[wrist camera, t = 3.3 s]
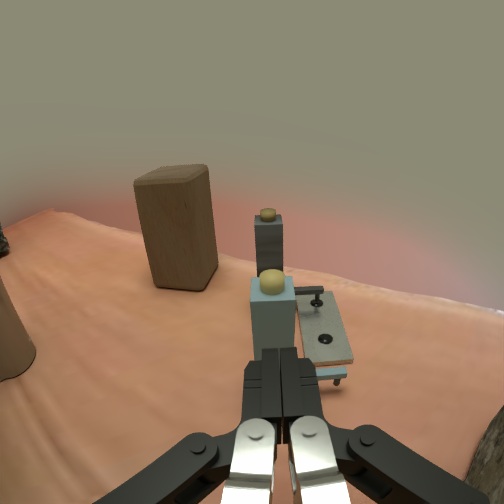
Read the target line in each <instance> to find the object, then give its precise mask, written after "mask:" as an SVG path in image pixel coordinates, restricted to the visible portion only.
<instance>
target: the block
mask: <svg viewBox="0 0 504 504" xmlns="http://www.w3.org/2000/svg"><path fill="white" fill-rule="evenodd" d="M134 192H135V198H136V203H137V209H138V214H139V219H140V224H141V229H142V234H143V238H144V243H145V248H146V252H147V256H148V261H149V265H150V269H151V273H152V277H153V281H154V284H155V285H156V286H158V287H167V288H177V289H188V290H202V289H204V288H205V286H206V284H207V282H208V281H209V279H210V277H211V276H212V274H213V272H214V270H215V269H216V267H217V265H218V255H217V247H216V239H215V229H214V220H213V212H212V202H211V192H210V182H209V171H208V167H207V165H204V164H194V165H193V164H192V165H180V166H179V165H178V166H166V167H160V168H158V169H156V170H154V171H151V172H149V173H147V174H145V175H143V176H141V177H139V178H137V179H136V180H135V181H134Z"/></svg>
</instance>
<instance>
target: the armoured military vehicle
mask: <svg viewBox="0 0 504 504" xmlns="http://www.w3.org/2000/svg"><path fill="white" fill-rule="evenodd" d="M0 233H1V234H0V253H1V252H3V251H6V250H7V248H9V245H8V244H9V243H8V242H7V239H6V237H4V234H3V232H2V226H1V223H0ZM3 245H4V246H3Z"/></svg>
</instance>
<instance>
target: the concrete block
mask: <svg viewBox="0 0 504 504" xmlns="http://www.w3.org/2000/svg"><path fill="white" fill-rule="evenodd" d="M465 483H467V484H468V485H470V486H472V487H474V488H476V489H477V490H479V491H481V492H483V493H484V494H486V495H487V496H488V498H489V501H490V504H504V405H503V407H502V408H501V409H500V411H499V412H498V413H497V415H496V416H495V417H494V418H493V420H492V421H491V423H490V424H489V426H488V428H487V430H486V432H485V434H484V436H483V438H482V440H481V442H480V445H479V448H478V451H477V453H476V455H475V457H474V460H473V463H472V466H471V468H470V470H469V473H468V476H467V478H466V480H465Z"/></svg>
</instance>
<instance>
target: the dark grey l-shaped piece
mask: <svg viewBox="0 0 504 504" xmlns="http://www.w3.org/2000/svg"><path fill="white" fill-rule="evenodd" d="M255 244H256V262H257V277H259V276H260V273H261V272H263V271H265V270H269V269H276V270H280V271H282V272H283V224H282V218H281V215H276V210H275V209H270V208H267V209H262V210H261V211H260V215H257V216H256V215H255ZM294 292H295V295H315V301H316V302H319V298H320V294H323V293H324V288H323V286H308V287H294Z"/></svg>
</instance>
